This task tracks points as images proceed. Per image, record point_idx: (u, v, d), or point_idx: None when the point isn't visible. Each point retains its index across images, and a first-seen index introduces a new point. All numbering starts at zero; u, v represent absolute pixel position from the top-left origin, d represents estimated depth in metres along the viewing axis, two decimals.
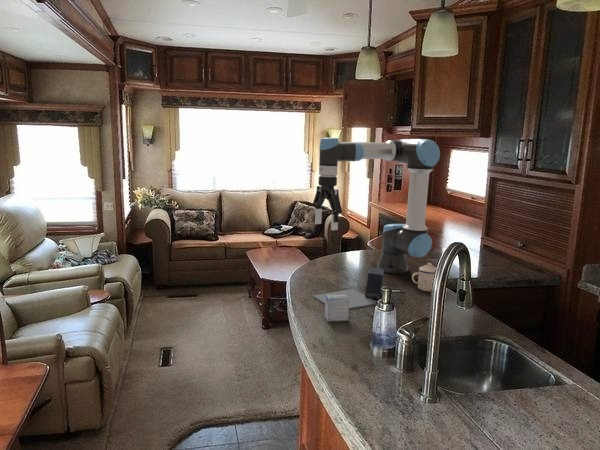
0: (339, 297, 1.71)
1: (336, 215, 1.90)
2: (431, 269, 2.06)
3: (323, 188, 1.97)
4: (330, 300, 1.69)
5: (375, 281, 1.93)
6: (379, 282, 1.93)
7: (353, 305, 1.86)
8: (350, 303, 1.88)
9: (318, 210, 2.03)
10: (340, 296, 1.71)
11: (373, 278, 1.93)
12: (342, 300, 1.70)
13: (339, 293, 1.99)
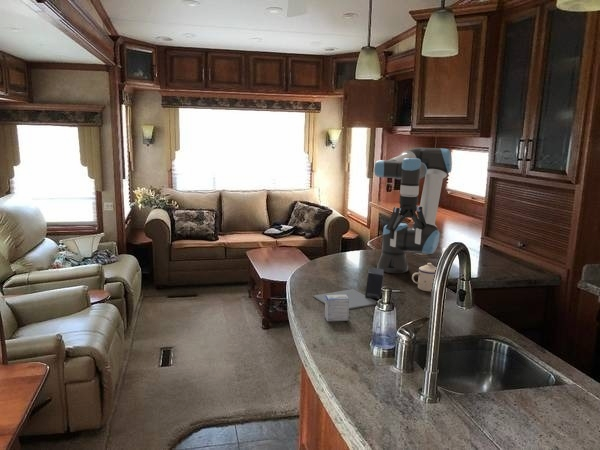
0: (339, 297, 1.71)
1: (390, 231, 1.98)
2: (431, 269, 2.06)
3: None
4: (330, 300, 1.69)
5: (375, 281, 1.93)
6: (379, 283, 1.93)
7: (353, 305, 1.86)
8: (350, 303, 1.88)
9: (417, 230, 2.05)
10: (340, 296, 1.71)
11: (373, 278, 1.93)
12: (342, 300, 1.70)
13: (339, 293, 1.99)
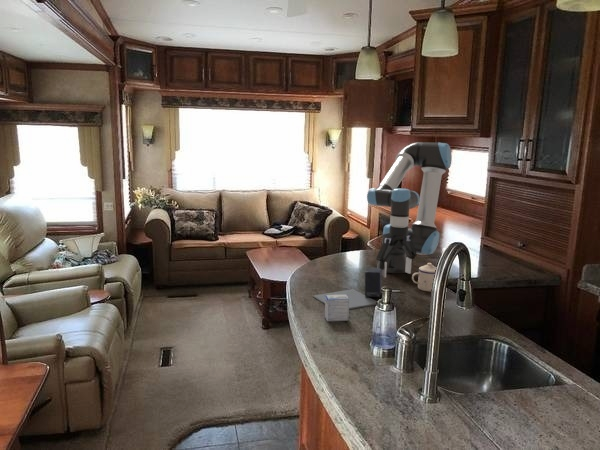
0: (339, 297, 1.71)
1: (380, 262, 1.98)
2: (431, 269, 2.06)
3: None
4: (330, 300, 1.69)
5: (373, 279, 1.93)
6: (377, 280, 1.93)
7: (353, 305, 1.86)
8: (350, 303, 1.88)
9: (407, 259, 2.05)
10: (340, 296, 1.71)
11: (371, 277, 1.93)
12: (342, 300, 1.70)
13: (339, 293, 1.99)
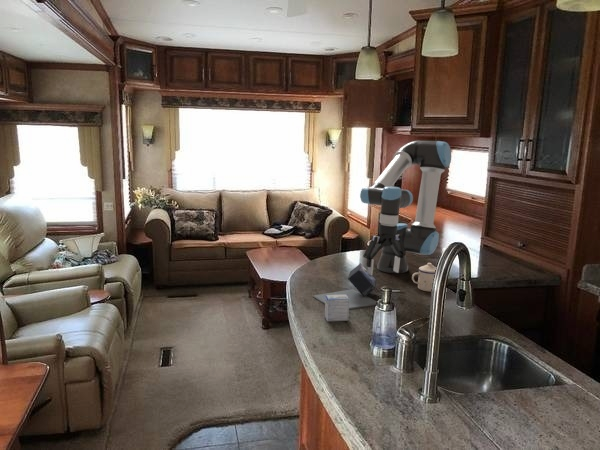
0: (339, 297, 1.71)
1: (367, 260, 1.96)
2: (431, 269, 2.06)
3: None
4: (330, 300, 1.69)
5: (358, 279, 1.93)
6: (362, 277, 1.93)
7: (353, 305, 1.86)
8: (350, 303, 1.88)
9: (396, 258, 2.03)
10: (340, 296, 1.71)
11: (355, 278, 1.94)
12: (342, 300, 1.70)
13: (339, 293, 1.99)
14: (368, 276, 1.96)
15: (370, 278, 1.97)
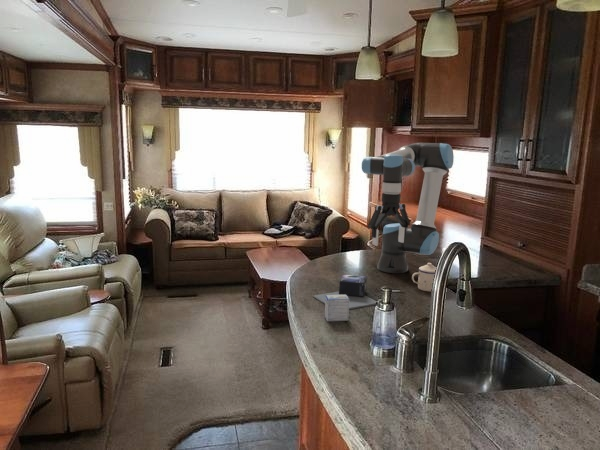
0: (339, 297, 1.71)
1: (372, 230, 1.93)
2: (431, 269, 2.06)
3: None
4: (330, 300, 1.69)
5: (346, 288, 1.95)
6: (347, 284, 1.95)
7: (353, 305, 1.86)
8: (350, 303, 1.88)
9: (400, 228, 2.00)
10: (340, 296, 1.71)
11: (344, 289, 1.96)
12: (342, 300, 1.70)
13: None
14: (353, 278, 1.98)
15: (356, 279, 1.98)
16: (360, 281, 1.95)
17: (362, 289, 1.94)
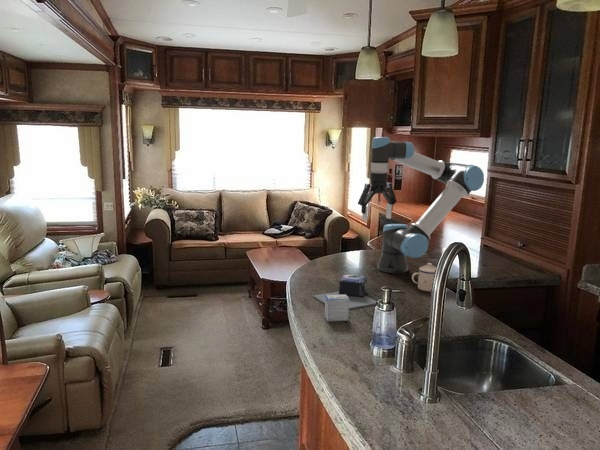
0: (339, 297, 1.71)
1: (362, 206, 2.10)
2: (431, 269, 2.06)
3: None
4: (330, 300, 1.69)
5: (346, 288, 1.95)
6: (347, 284, 1.95)
7: (353, 305, 1.86)
8: (350, 303, 1.88)
9: (388, 205, 2.17)
10: (340, 296, 1.71)
11: (344, 289, 1.96)
12: (342, 300, 1.70)
13: None
14: (353, 278, 1.98)
15: (356, 279, 1.98)
16: (360, 281, 1.95)
17: (362, 289, 1.94)
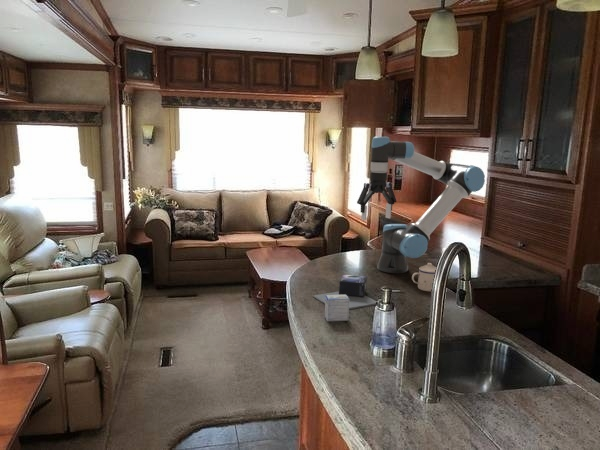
0: (339, 297, 1.71)
1: (361, 206, 2.10)
2: (431, 269, 2.06)
3: None
4: (330, 300, 1.69)
5: (346, 288, 1.95)
6: (347, 284, 1.95)
7: (353, 305, 1.86)
8: (350, 303, 1.88)
9: (387, 205, 2.17)
10: (340, 296, 1.71)
11: (344, 289, 1.96)
12: (342, 300, 1.70)
13: None
14: (353, 278, 1.98)
15: (356, 279, 1.98)
16: (360, 281, 1.95)
17: (362, 289, 1.94)
